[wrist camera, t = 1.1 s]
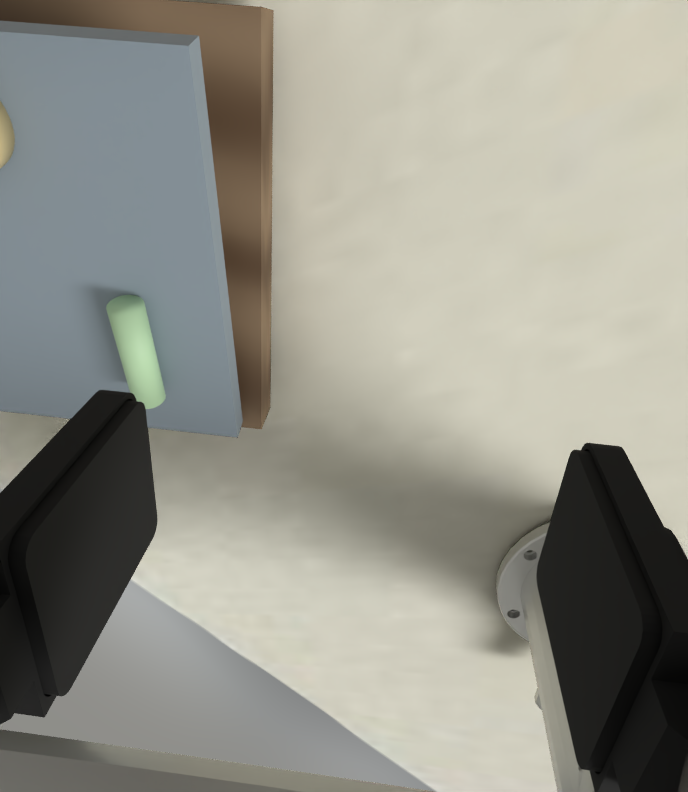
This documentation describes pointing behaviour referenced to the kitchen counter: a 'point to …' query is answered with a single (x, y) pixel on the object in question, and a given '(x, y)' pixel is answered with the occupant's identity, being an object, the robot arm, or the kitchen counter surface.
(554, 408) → the kitchen counter surface
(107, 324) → the plate
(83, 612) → the robot arm
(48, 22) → the wooden board
